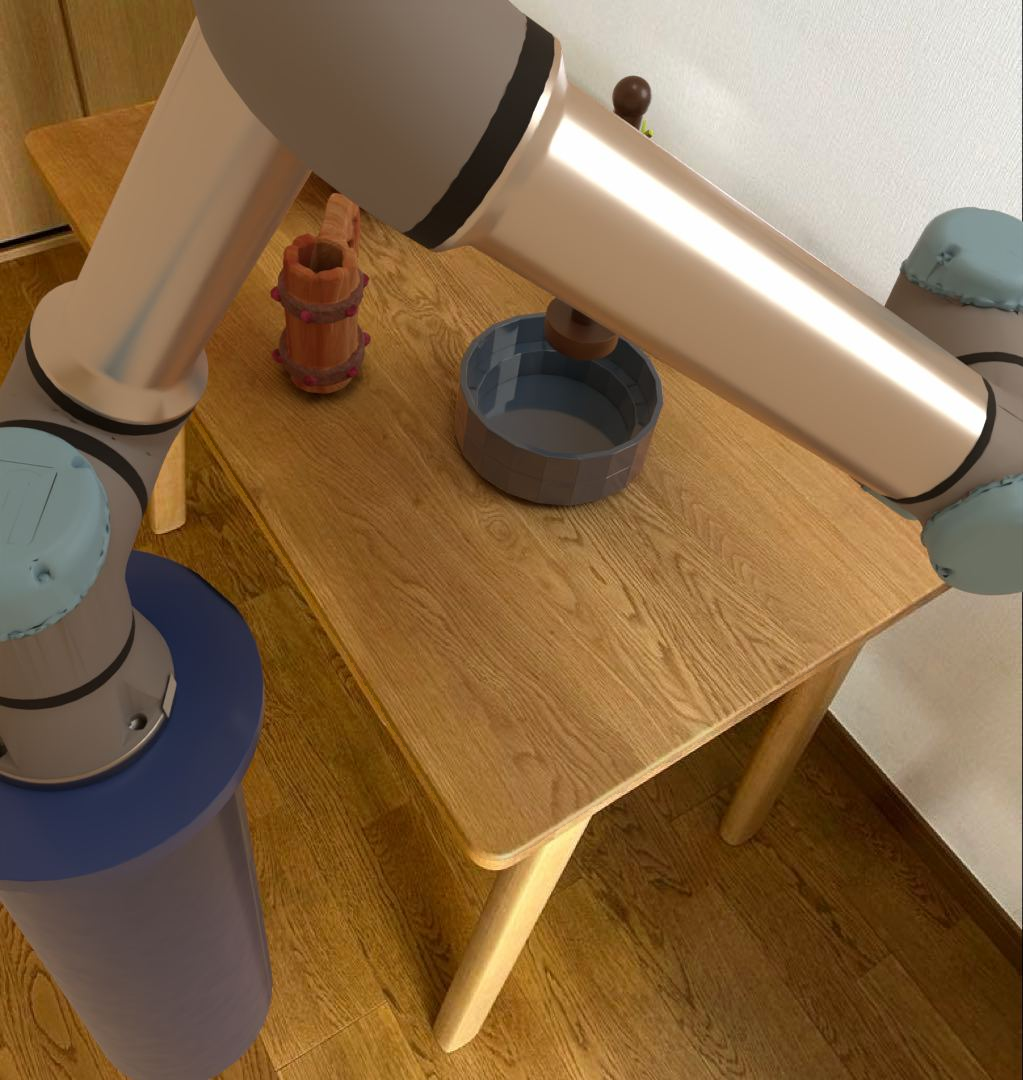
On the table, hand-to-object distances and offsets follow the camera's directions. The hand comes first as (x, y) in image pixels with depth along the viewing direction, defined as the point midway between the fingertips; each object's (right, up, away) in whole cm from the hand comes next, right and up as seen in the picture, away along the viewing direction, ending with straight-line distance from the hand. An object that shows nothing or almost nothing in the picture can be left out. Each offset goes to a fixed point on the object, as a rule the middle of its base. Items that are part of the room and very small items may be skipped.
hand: (561, 168), depth 87 cm
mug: (-21, -11, +21) cm, 32 cm away
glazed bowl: (0, -19, +18) cm, 26 cm away
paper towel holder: (+2, -12, +8) cm, 14 cm away
